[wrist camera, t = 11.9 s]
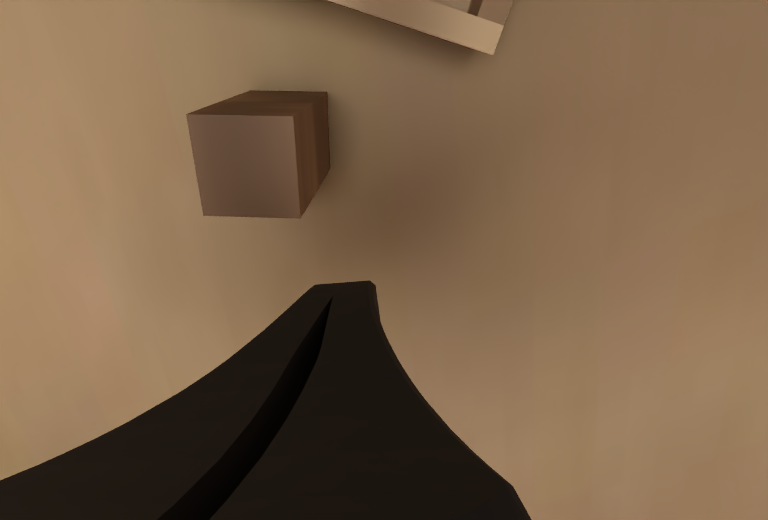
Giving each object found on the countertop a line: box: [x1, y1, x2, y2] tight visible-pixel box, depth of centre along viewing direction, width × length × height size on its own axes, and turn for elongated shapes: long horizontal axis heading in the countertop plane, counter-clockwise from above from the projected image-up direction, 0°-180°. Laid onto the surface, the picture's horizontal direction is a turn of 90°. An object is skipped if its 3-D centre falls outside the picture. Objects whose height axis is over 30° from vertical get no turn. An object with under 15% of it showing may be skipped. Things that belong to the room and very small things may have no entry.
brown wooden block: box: [186, 91, 330, 218], centre depth 16 cm, size 3×3×6 cm
